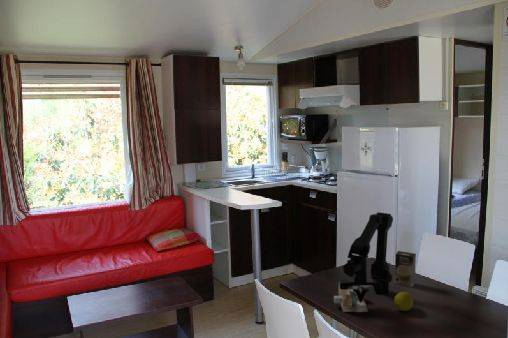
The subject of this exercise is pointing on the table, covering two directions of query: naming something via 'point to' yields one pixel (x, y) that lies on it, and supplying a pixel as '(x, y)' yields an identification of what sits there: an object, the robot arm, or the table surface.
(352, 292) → the terracotta knob
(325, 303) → the table surface
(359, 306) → the mount
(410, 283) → the coffee box
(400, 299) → the lemon
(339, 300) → the teal knob
